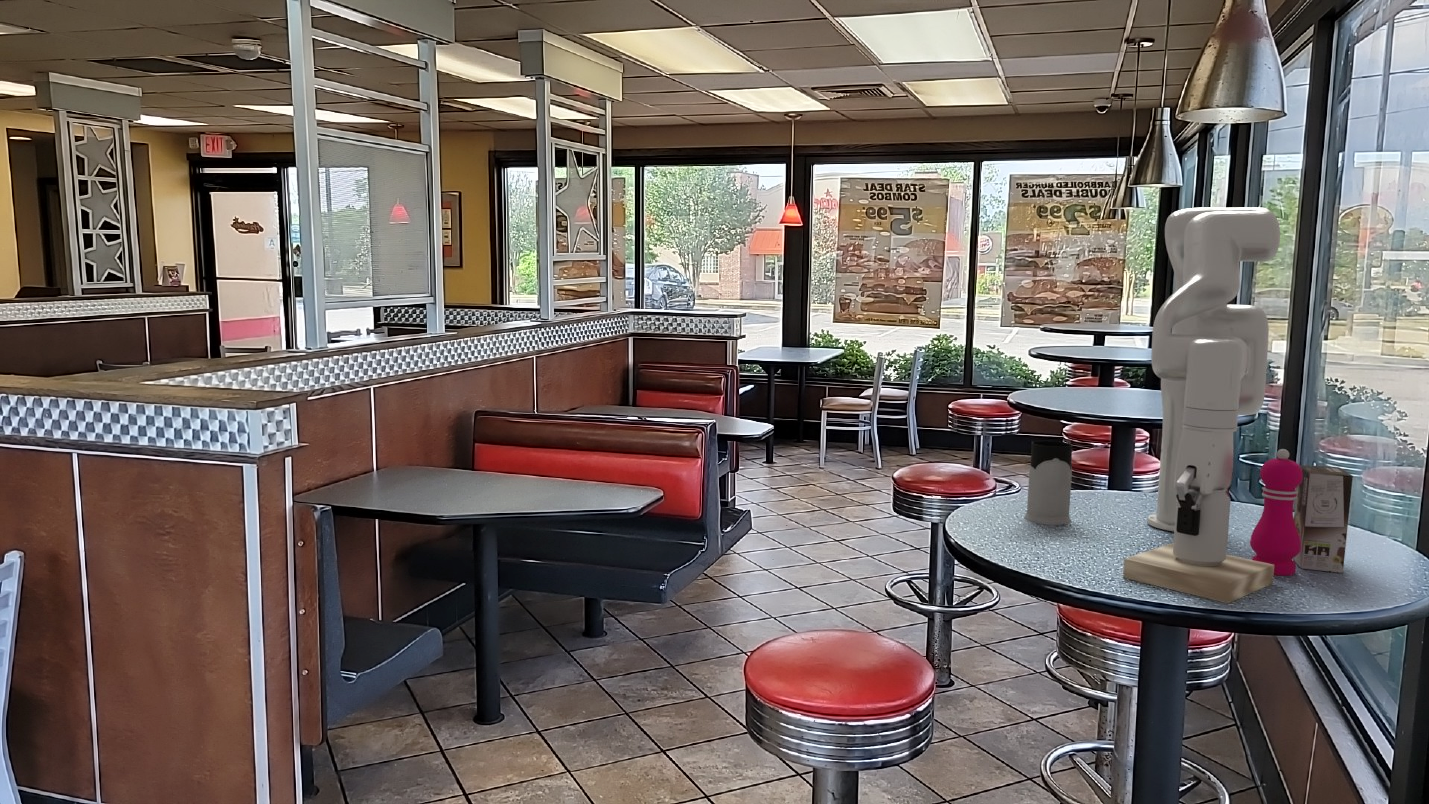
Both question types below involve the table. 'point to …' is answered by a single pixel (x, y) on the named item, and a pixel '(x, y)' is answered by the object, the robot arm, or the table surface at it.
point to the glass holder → (1049, 483)
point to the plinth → (1199, 574)
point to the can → (1206, 532)
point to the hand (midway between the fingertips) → (1201, 529)
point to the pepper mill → (1278, 515)
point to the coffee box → (1322, 517)
